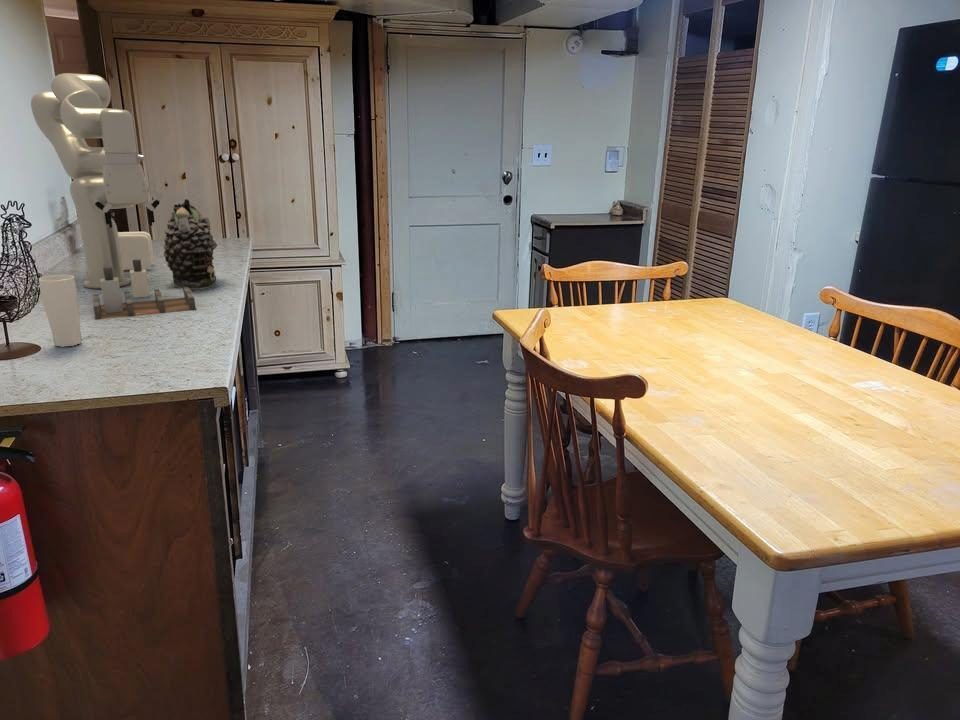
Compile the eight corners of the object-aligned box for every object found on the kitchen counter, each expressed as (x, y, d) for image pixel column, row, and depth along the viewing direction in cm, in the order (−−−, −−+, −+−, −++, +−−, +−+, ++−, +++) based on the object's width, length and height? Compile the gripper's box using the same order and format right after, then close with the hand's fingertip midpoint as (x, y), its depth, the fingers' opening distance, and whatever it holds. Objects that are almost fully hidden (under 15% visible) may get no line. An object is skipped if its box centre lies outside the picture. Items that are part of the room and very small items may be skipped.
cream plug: (133, 298, 194) (127, 259, 191) (149, 297, 196) (144, 258, 193) (134, 301, 191) (128, 261, 187) (150, 300, 193) (145, 260, 189)
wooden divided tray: (95, 309, 182) (92, 294, 181) (189, 301, 192) (187, 286, 191) (96, 324, 170) (93, 307, 168) (196, 314, 180) (194, 298, 179)
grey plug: (105, 309, 178) (98, 266, 175) (122, 307, 180) (116, 265, 176) (105, 313, 175) (98, 269, 171) (123, 311, 177) (116, 268, 173)
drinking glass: (61, 351, 150) (48, 282, 145) (44, 345, 153) (31, 278, 148) (92, 343, 155) (81, 277, 150) (75, 338, 159) (63, 273, 154)
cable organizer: (101, 272, 226) (96, 236, 222) (106, 266, 236) (101, 231, 232) (152, 270, 231) (147, 235, 227) (155, 264, 240) (150, 230, 236)
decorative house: (223, 290, 206) (214, 204, 198) (167, 293, 200) (156, 205, 192) (219, 276, 224) (210, 196, 216) (168, 279, 218) (157, 197, 210)
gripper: (157, 158, 188) (164, 222, 194) (84, 159, 181) (94, 225, 186) (159, 160, 182) (167, 226, 188) (83, 160, 174) (94, 229, 180)
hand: (131, 226), depth 187 cm, fingers open, 9 cm apart
